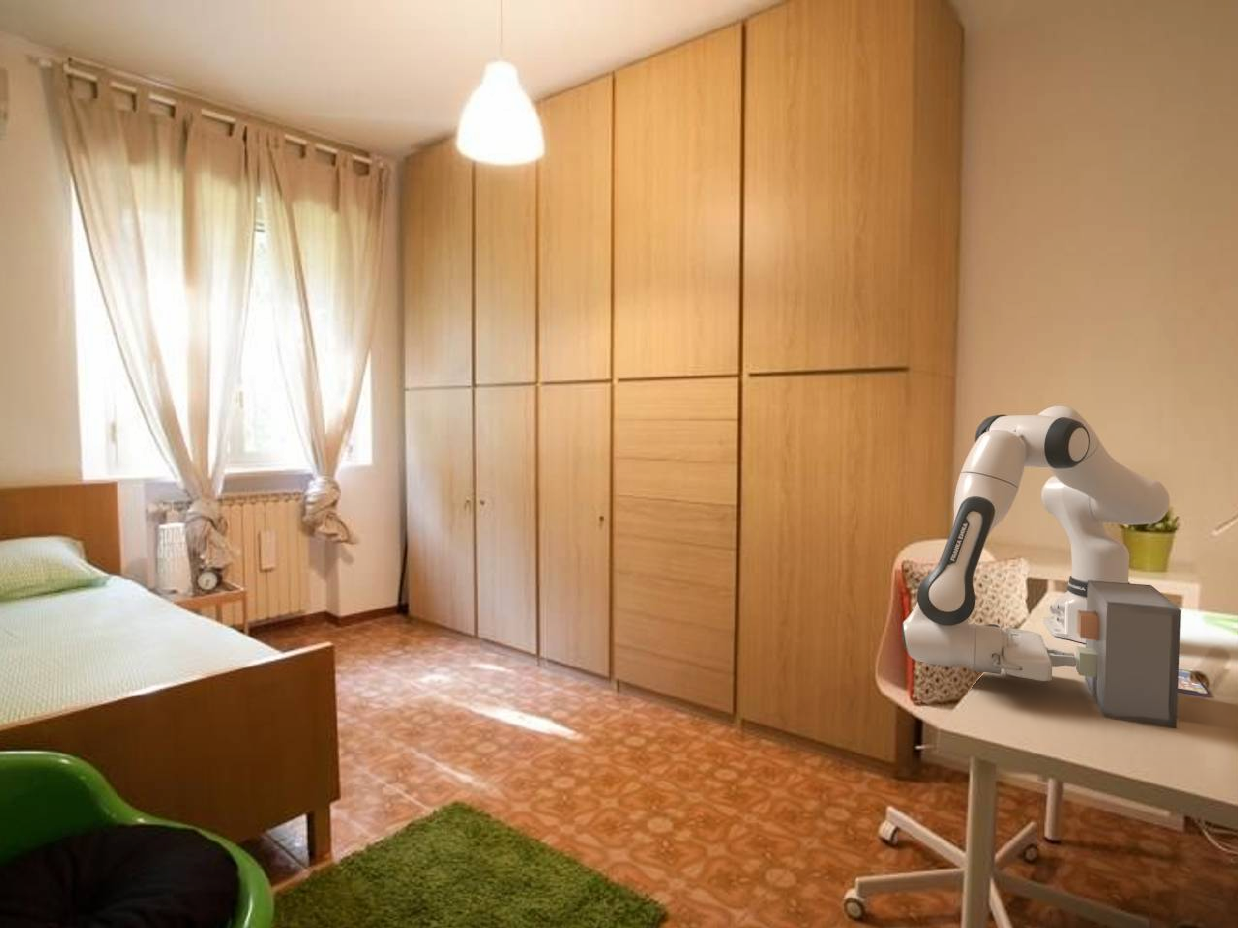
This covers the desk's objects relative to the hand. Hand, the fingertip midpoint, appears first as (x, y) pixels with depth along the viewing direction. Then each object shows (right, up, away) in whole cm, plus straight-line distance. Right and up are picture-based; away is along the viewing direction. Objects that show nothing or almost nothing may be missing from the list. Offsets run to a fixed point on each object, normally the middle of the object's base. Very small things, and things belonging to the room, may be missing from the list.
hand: (1075, 660), depth 127 cm
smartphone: (+25, -7, +7) cm, 27 cm away
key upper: (+3, +5, -2) cm, 6 cm away
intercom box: (+7, -7, -3) cm, 10 cm away
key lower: (+3, -2, -1) cm, 4 cm away
